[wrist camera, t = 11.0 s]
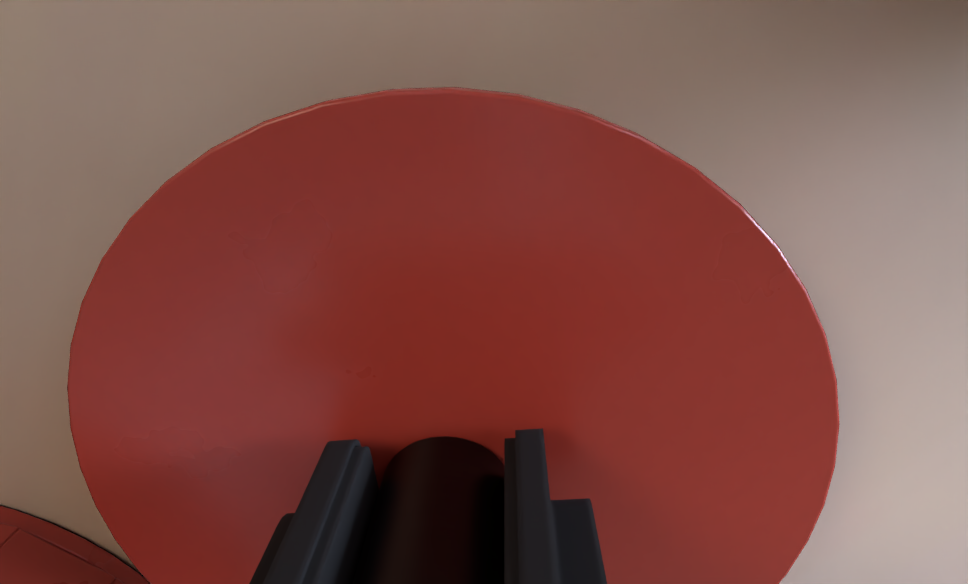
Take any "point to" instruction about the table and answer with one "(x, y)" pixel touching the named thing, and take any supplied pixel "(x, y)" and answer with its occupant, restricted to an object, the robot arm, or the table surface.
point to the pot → (54, 555)
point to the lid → (452, 347)
